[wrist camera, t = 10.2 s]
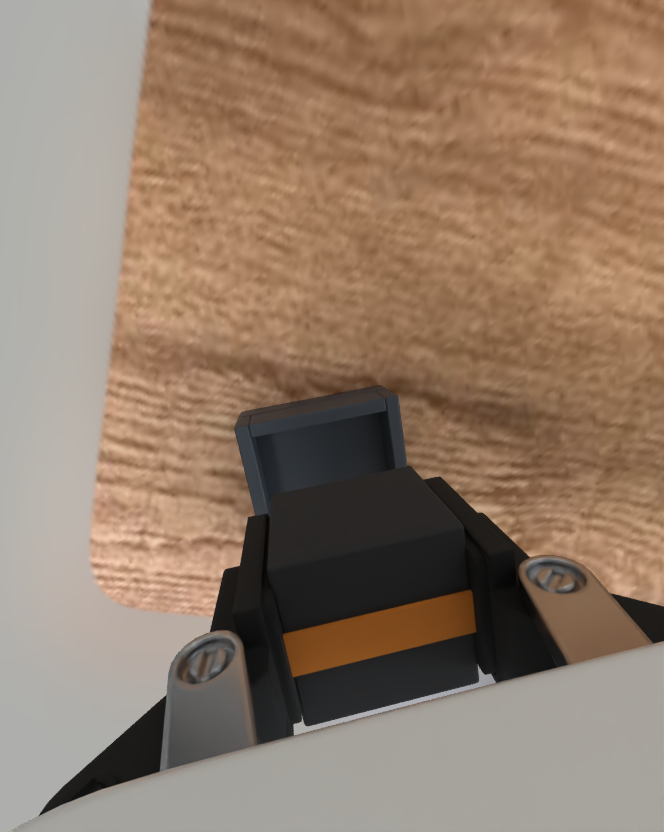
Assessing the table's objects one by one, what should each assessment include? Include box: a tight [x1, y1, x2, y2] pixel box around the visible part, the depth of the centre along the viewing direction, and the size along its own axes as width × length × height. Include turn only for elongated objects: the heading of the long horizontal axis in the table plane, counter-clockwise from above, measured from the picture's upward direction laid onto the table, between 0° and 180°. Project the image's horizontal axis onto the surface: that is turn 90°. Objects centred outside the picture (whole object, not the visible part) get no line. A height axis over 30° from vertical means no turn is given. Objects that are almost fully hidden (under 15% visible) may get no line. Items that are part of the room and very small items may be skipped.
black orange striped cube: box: [267, 466, 479, 726], centre depth 10 cm, size 4×4×4 cm
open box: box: [235, 385, 407, 518], centre depth 16 cm, size 6×6×2 cm
